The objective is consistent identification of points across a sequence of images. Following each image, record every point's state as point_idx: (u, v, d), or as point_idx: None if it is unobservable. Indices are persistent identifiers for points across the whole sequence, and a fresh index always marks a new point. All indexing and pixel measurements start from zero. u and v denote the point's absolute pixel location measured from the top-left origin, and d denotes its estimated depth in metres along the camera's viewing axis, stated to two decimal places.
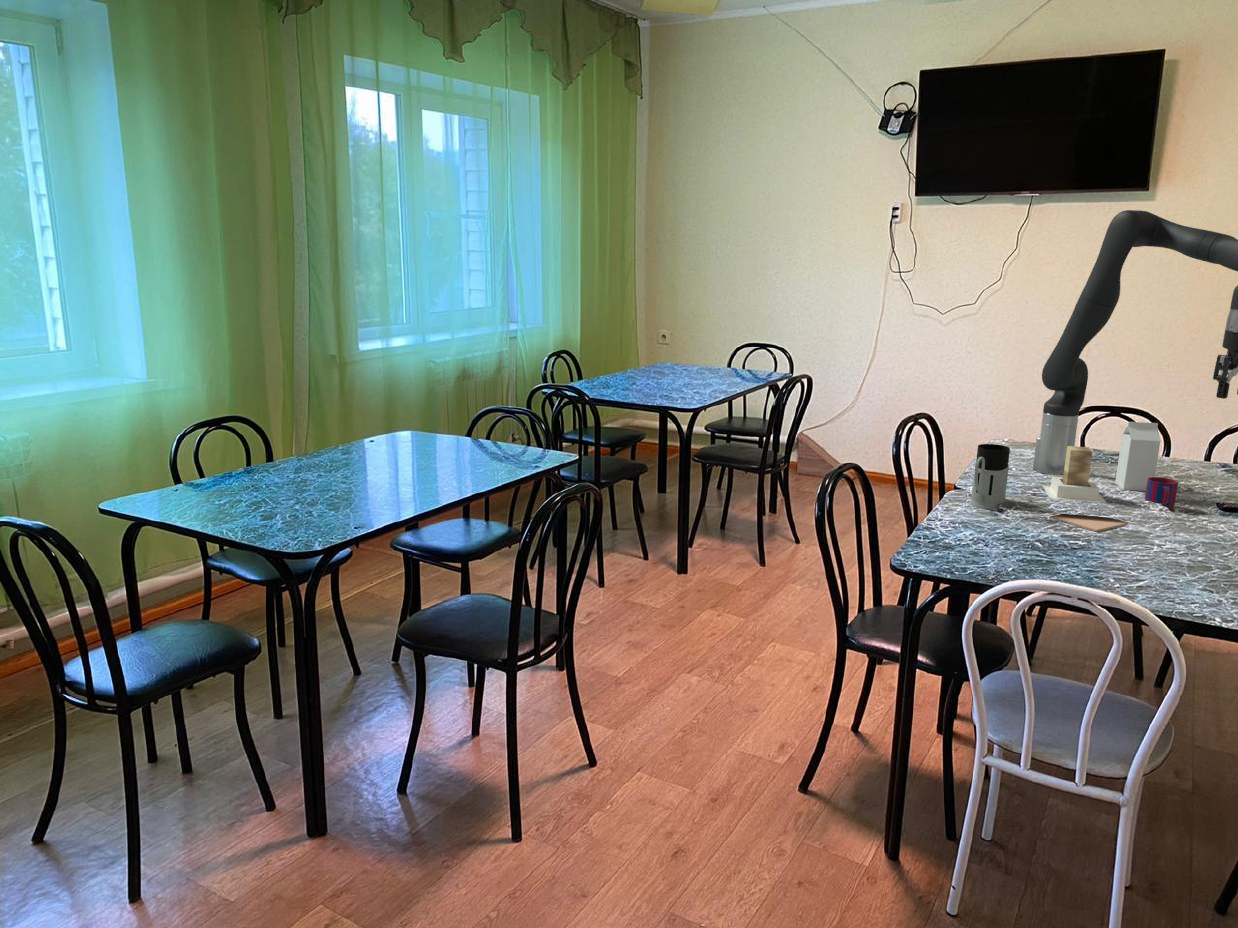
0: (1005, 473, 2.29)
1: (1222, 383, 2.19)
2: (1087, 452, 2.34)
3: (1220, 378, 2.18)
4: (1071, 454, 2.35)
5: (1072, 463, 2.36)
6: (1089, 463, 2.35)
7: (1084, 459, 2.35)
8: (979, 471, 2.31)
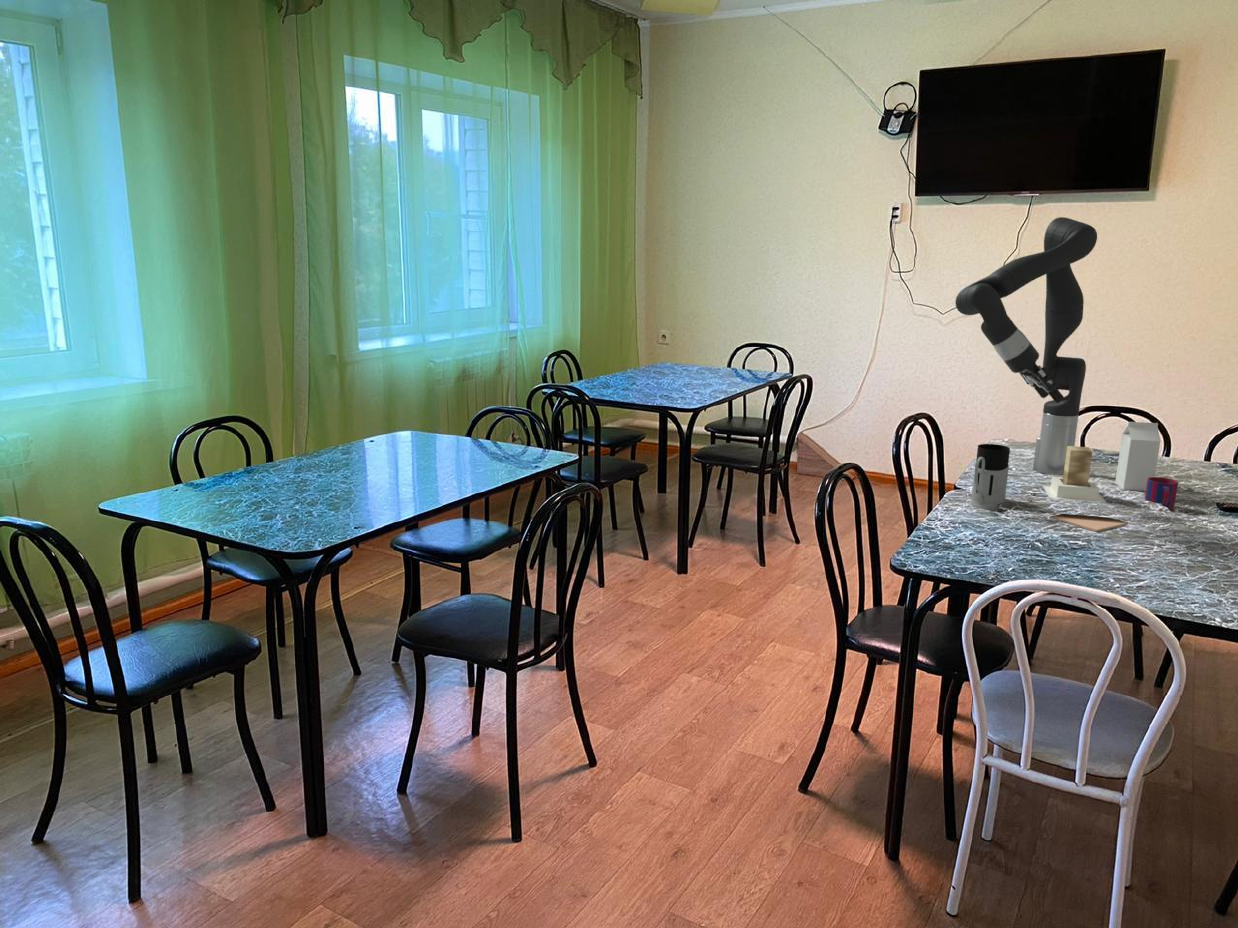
0: (1005, 473, 2.29)
1: None
2: (1087, 452, 2.34)
3: None
4: (1071, 454, 2.35)
5: (1072, 463, 2.36)
6: (1089, 463, 2.35)
7: (1084, 459, 2.35)
8: (979, 471, 2.31)
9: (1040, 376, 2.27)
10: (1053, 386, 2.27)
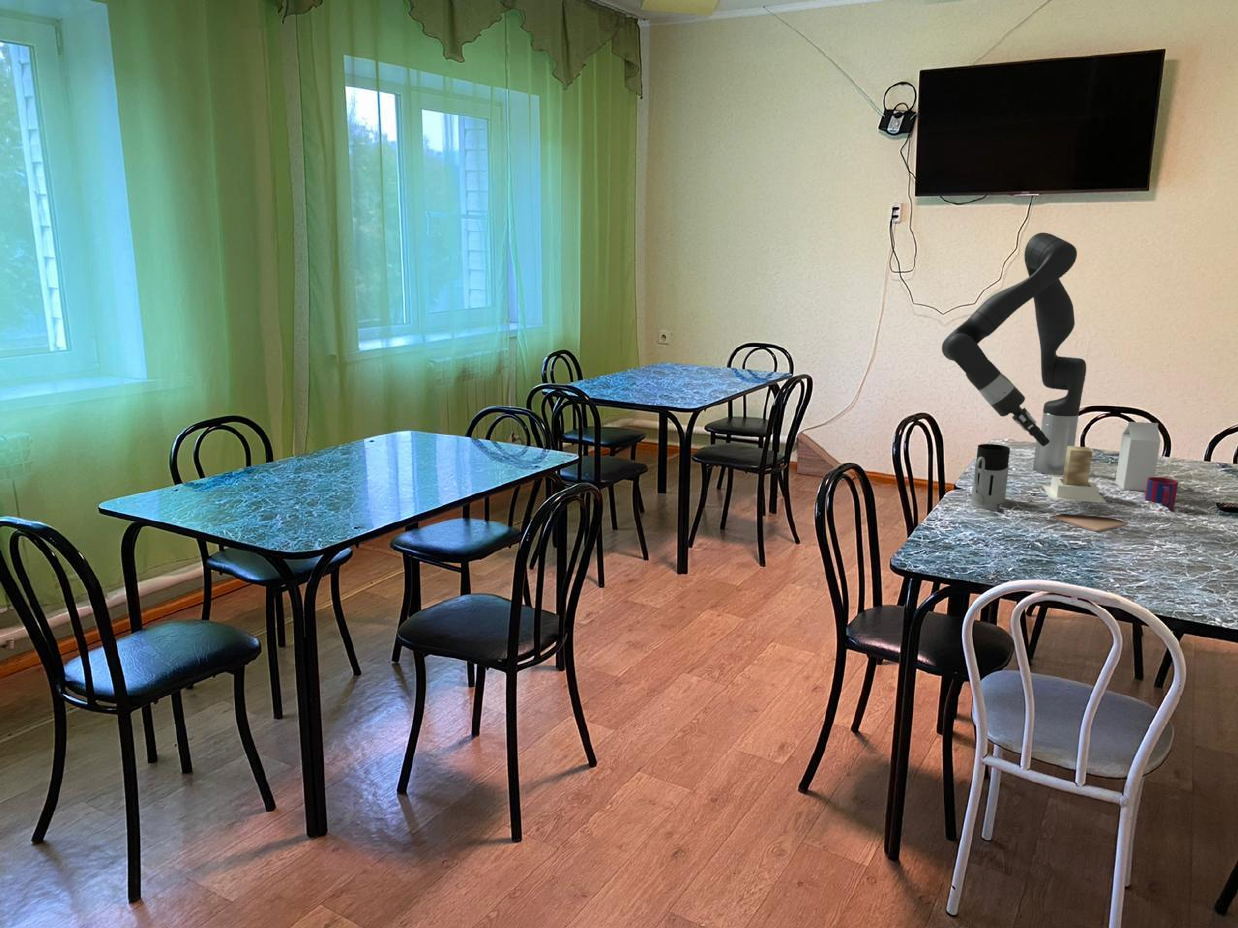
0: (1005, 473, 2.29)
1: None
2: (1087, 452, 2.34)
3: None
4: (1071, 454, 2.35)
5: (1072, 463, 2.36)
6: (1089, 463, 2.35)
7: (1084, 459, 2.35)
8: (979, 471, 2.31)
9: (1020, 421, 2.33)
10: (1034, 430, 2.32)
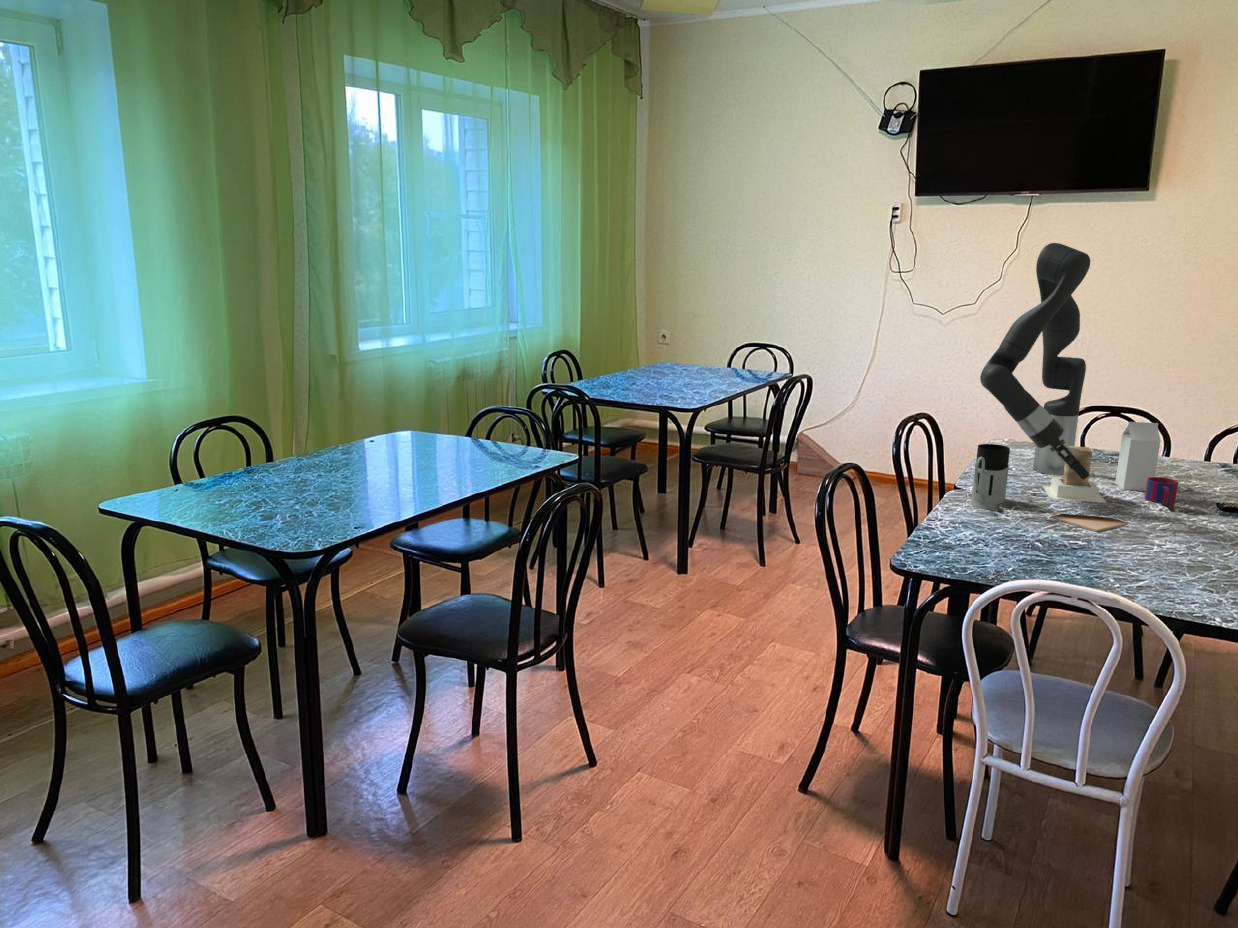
0: (1005, 473, 2.29)
1: None
2: (1087, 452, 2.34)
3: None
4: None
5: None
6: (1089, 463, 2.35)
7: (1084, 459, 2.35)
8: (979, 471, 2.31)
9: (1062, 456, 2.32)
10: (1075, 464, 2.33)
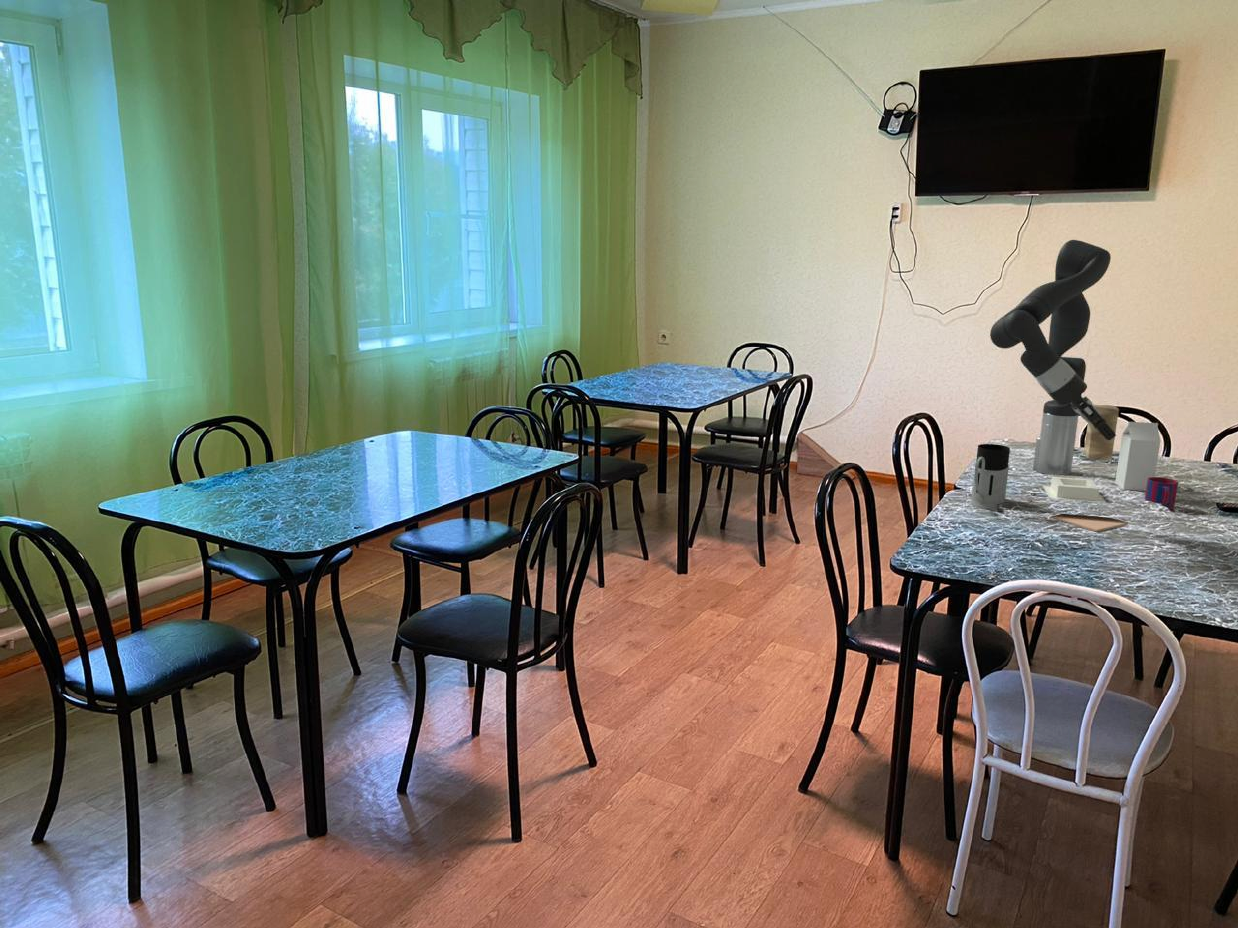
0: (1005, 473, 2.29)
1: None
2: (1113, 410, 2.12)
3: None
4: None
5: None
6: (1115, 422, 2.13)
7: (1110, 418, 2.13)
8: (979, 471, 2.31)
9: (1086, 414, 2.10)
10: (1100, 423, 2.11)
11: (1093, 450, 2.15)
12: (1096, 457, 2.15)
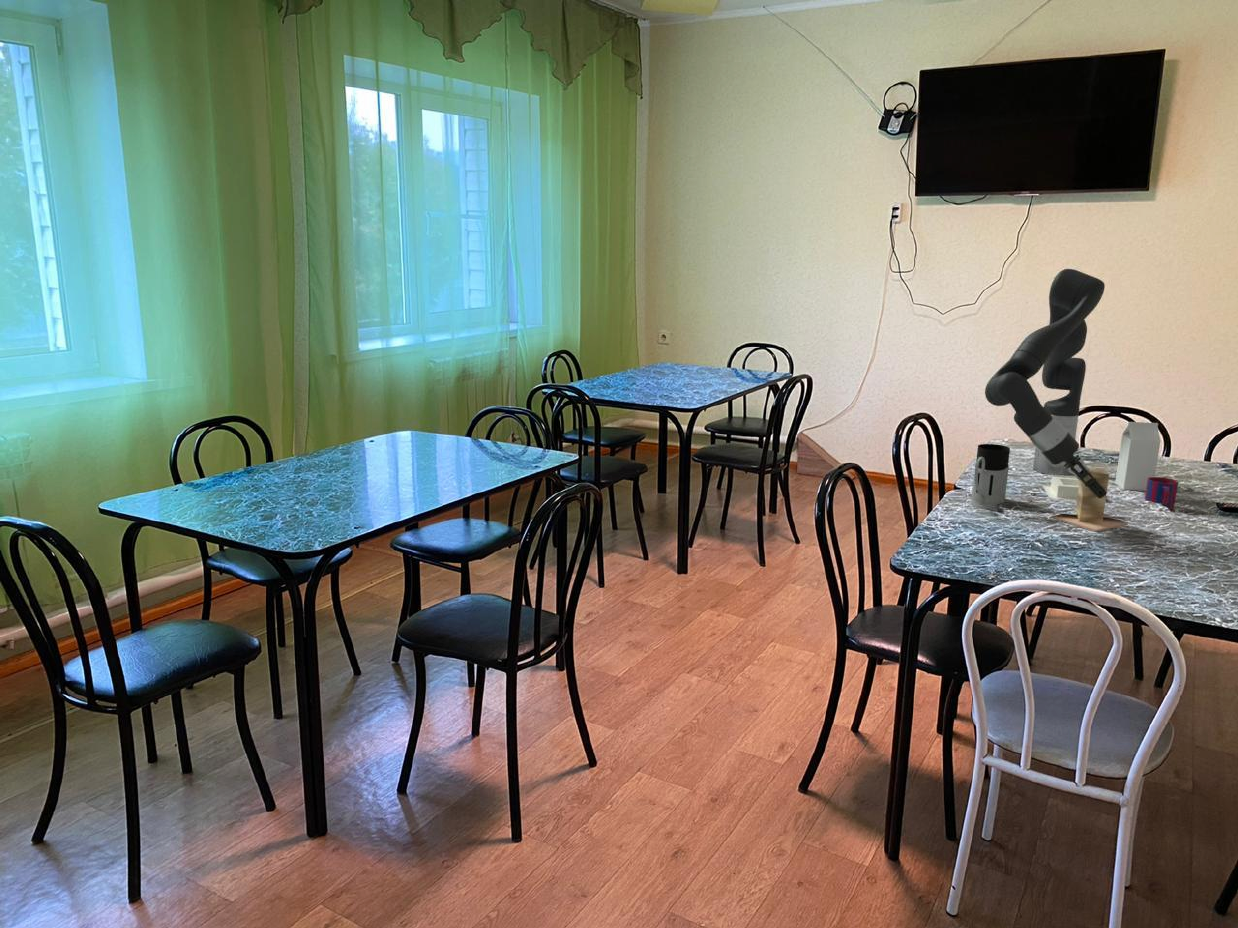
0: (1005, 473, 2.29)
1: None
2: (1103, 475, 2.16)
3: None
4: (1086, 477, 2.17)
5: (1087, 487, 2.17)
6: (1106, 486, 2.16)
7: (1101, 482, 2.16)
8: (979, 471, 2.31)
9: (1076, 471, 2.13)
10: (1091, 482, 2.13)
11: (1084, 514, 2.19)
12: (1087, 520, 2.19)
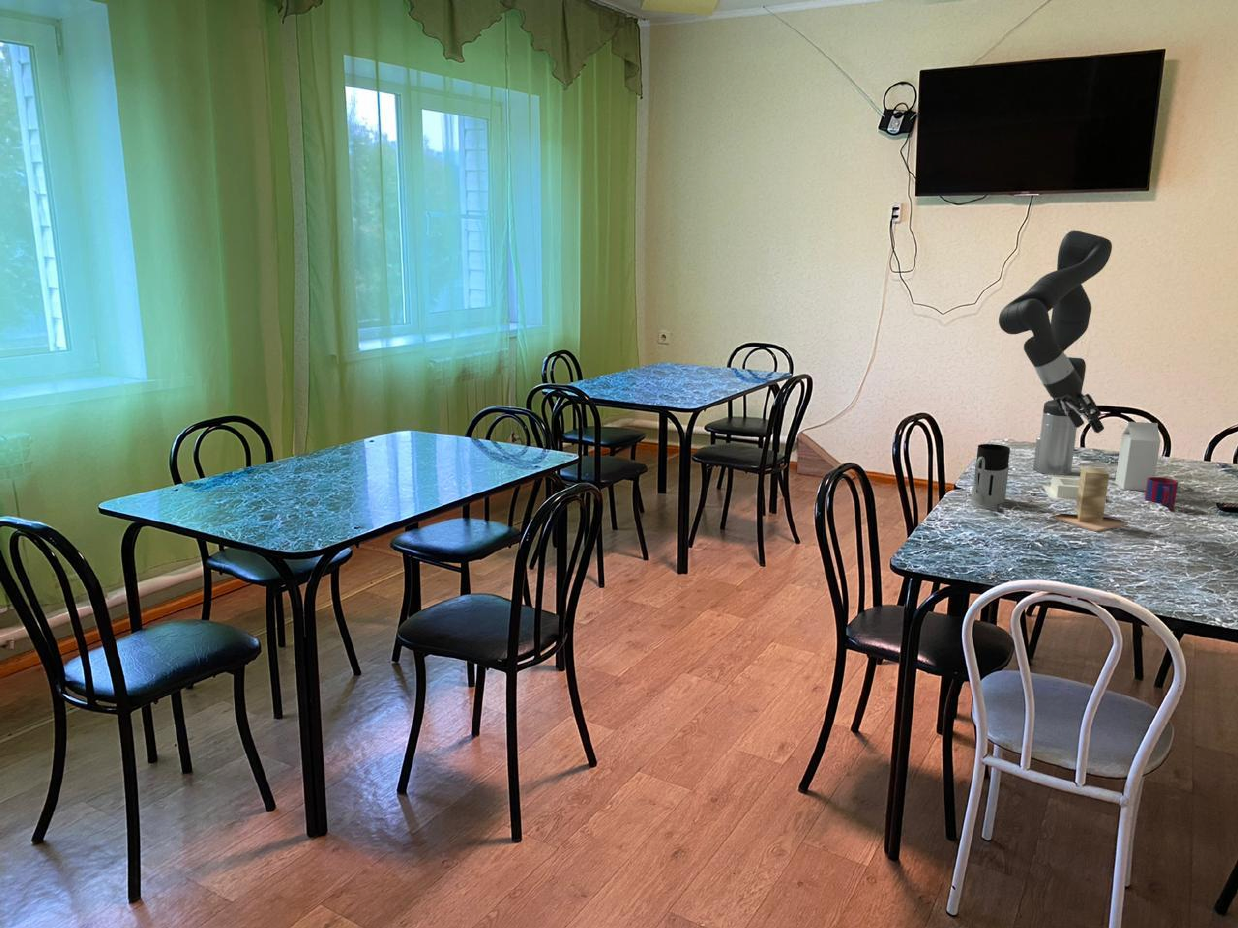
0: (1005, 473, 2.29)
1: None
2: (1103, 475, 2.16)
3: None
4: (1086, 477, 2.17)
5: (1087, 487, 2.17)
6: (1106, 486, 2.16)
7: (1101, 482, 2.16)
8: (979, 471, 2.31)
9: (1084, 403, 2.14)
10: (1096, 414, 2.15)
11: (1084, 514, 2.19)
12: (1087, 520, 2.19)
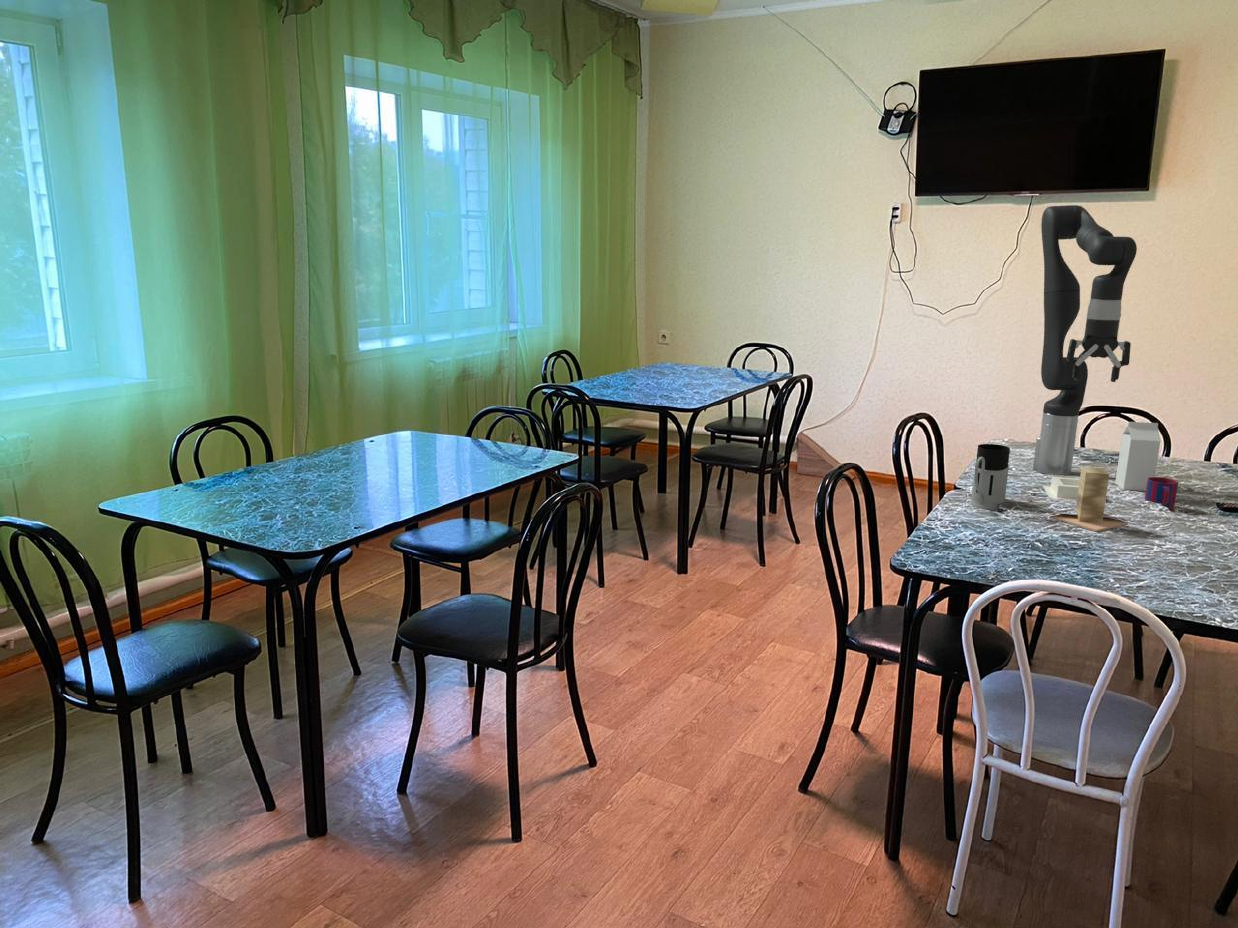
0: (1005, 473, 2.29)
1: (1074, 365, 2.39)
2: (1103, 475, 2.16)
3: (1067, 360, 2.39)
4: (1086, 477, 2.17)
5: (1087, 487, 2.17)
6: (1106, 486, 2.16)
7: (1101, 482, 2.16)
8: (979, 471, 2.31)
9: None
10: None
11: (1084, 514, 2.19)
12: (1087, 520, 2.19)
